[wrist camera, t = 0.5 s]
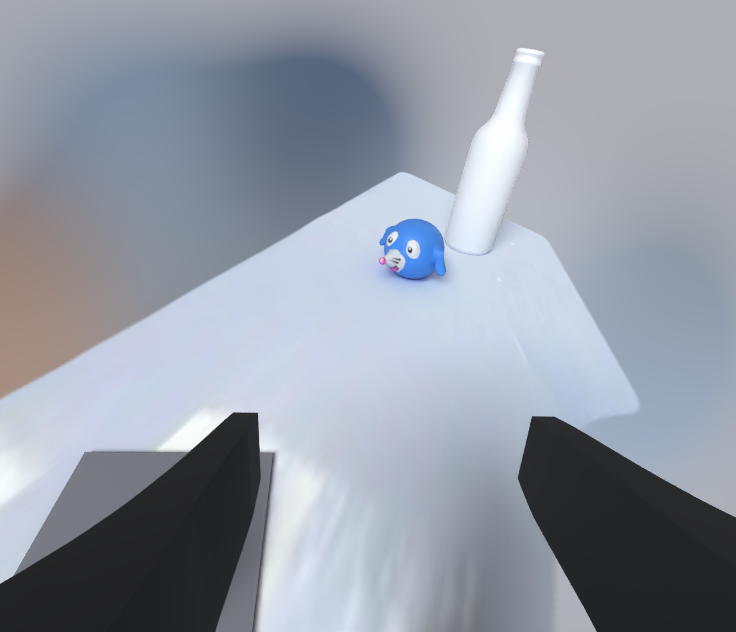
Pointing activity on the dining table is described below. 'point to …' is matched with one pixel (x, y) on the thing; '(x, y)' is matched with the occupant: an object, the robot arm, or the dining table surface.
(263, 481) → the mat
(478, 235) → the alcohol
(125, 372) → the dining table surface
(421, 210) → the dining table surface
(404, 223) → the blue rounded blob
